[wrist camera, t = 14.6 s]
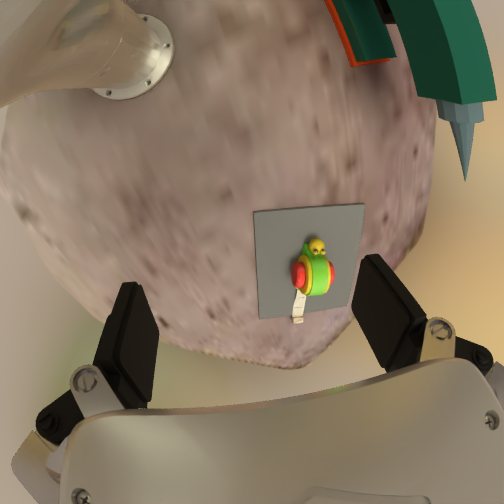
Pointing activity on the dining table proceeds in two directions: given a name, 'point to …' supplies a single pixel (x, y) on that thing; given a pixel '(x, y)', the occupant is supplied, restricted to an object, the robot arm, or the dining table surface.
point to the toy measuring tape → (310, 275)
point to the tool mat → (290, 249)
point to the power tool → (426, 54)
